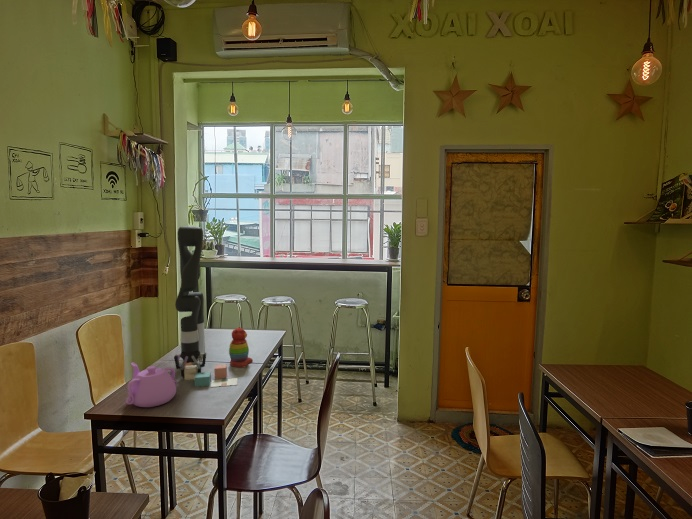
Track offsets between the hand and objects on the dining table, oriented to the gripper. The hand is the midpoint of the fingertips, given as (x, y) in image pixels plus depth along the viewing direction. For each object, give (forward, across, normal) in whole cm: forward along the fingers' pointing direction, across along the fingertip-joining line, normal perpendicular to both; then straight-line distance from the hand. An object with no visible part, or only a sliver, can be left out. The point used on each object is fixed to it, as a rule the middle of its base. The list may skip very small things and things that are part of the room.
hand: (191, 376), depth 200 cm
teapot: (+1, +13, +22) cm, 26 cm away
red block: (+1, -13, +2) cm, 13 cm away
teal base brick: (+1, -6, +9) cm, 11 cm away
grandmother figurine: (+1, +3, -15) cm, 15 cm away
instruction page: (+1, -15, +10) cm, 18 cm away
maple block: (+1, 0, 0) cm, 1 cm away
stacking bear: (+1, -21, -15) cm, 26 cm away
